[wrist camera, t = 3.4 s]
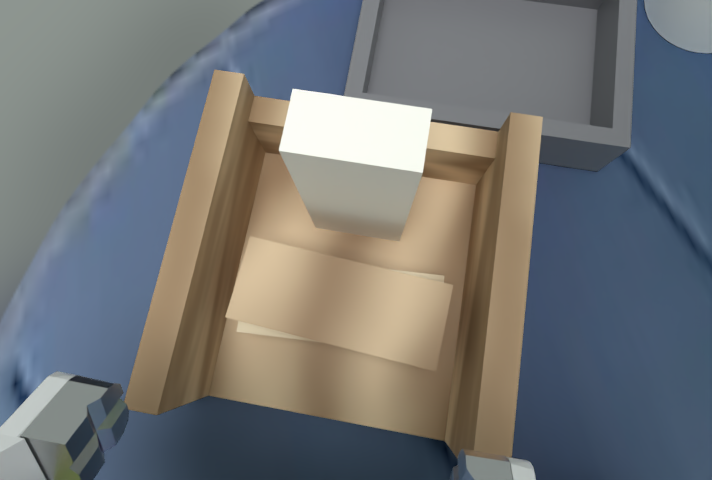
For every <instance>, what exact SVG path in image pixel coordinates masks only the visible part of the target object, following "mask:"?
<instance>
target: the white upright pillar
mask: <svg viewBox="0 0 712 480" xmlns="http://www.w3.org/2000/svg"><path fill="white" fill-rule="evenodd" d="M431 115H432V109H429V108H422V107H415V106H409V105H402V104H395V103H388V102H381V101H374V100H367V99H360V98H353V97H346V96H339V95H333V94H326V93H319V92H312V91H305V90H298V89H293V90H292V94H291V99H290V103H289V108H288V112H287V116H286V121H285V125H284V130H283V134H282V138H281V143H280V147H279V152H280V154H281V156H282V159H283V161H284V163H285V165H286V167H287V169H288V171H289V173H290V175H291V177H292V179H293V181H294V183H295V186H296V188H297V190H298V192H299V194H300V196H301V198H302V200H303V202H304V204H305V206H306V208H307V211H308V213H309V215H310V217H311V219H312V221H313V223H314V225H315V227H316V228H320V229H326V230H332V231H338V232H344V233H350V234H356V235H362V236H368V237H374V238H381V239H387V240H393V241H400V238H401V235H402V232H403V230H404V227H405V224H406V221H407V218H408V215H409V212H410V209H411V206H412V203H413V200H414V197H415V194H416V191H417V188H418V185H419V182H420V179H421V177H422V174H423V168H424V161H425V155H426V148H427V141H428V135H429V128H430V121H431Z"/></svg>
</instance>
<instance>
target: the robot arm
mask: <svg viewBox="0 0 712 480" xmlns="http://www.w3.org/2000/svg"><path fill="white" fill-rule="evenodd" d="M122 394H123V390H122V387H121V385H120V384H118V383H113V382H108V381H103V380H97V379H92V378H87V377H82V376H79V375H74V374H68V373H63V372H55V373H53V374H51V375H50V376H48V377H47V378H46V379H45V380H44V381H43V382H42V383H41V384H40V385H39V386H38V388H37V389H36V390H35V391H34V392H33V393H32V394H31V395H30V396H29V397H28V398H27V399H26V400H25V401H24V403H23V404H22V405H21V406H20V407H19V408H18V409H17V410H16V411H15V412H14V413H13V414H12V415H11V416H10V418H9V419H8V420H7V421H6V422H5V423H4V424H3V425H2V426H1V427H0V480H93V479H94V478H95V476H96V475H97V473H98V472H99V470H100V469H101V467H102V466H103V464H104V463H105V459H104V452H105V451H107V450H108V449H110V448H112V447H113V446H115V445H116V444H117V443H118V441H119V440H120V438H121V436H122V435H123V433H124V431H125V428H126V425H127V422H128V417H129V410H128V406H127V404H126V403H125V402H124V401H123V400H121V399H120V397H121V396H122ZM450 480H536V477H535V472H534V468H533V466H532V464H531V462H529V461H528V460H523V459H517V458H511V457H506V456H503V455H497V454H492V453H486V452H480V451H474V450H468V449H462V450H460V452H459V455H458V466H455V467H453V469H452V472H451V475H450Z"/></svg>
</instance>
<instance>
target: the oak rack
mask: <svg viewBox="0 0 712 480" xmlns="http://www.w3.org/2000/svg"><path fill="white" fill-rule="evenodd" d="M289 103H290V101H286V100H279V99H272V98H265V97H258V96H254V94H253V92H252V90H251V88H250V85H249V83H248V81H247V79H246V77H245V75H244V74H241V73H234V72H227V71H220V70H214V74H213V77H212V81H211V85H210V88H209V92H208V96H207V99H206V103H205V107H204V110H203V114H202V118H201V121H200V125H199V129H198V132H197V136H196V140H195V143H194V147H193V151H192V154H191V158H190V162H189V165H188V169H187V173H186V177H185V180H184V184H183V188H182V191H181V195H180V199H179V202H178V206H177V210H176V213H175V217H174V221H173V224H172V228H171V232H170V235H169V239H168V243H167V246H166V250H165V254H164V257H163V261H162V265H161V268H160V272H159V276H158V279H157V283H156V287H155V290H154V294H153V298H152V301H151V305H150V309H149V312H148V316H147V320H146V323H145V327H144V331H143V334H142V338H141V342H140V345H139V349H138V353H137V356H136V360H135V364H134V368H133V371H132V375H131V379H130V382H129V386H128V390H127V393H126V397H125V401H124V402H125V403H126V404H127V406H128V410H133V411H138V412H143V413H148V414H153V415H159V414H161V413H164V412H167V411H169V410H172V409H175V408H177V407H180V406H182V405H185V404H188V403H190V402H193V401H196V400H198V399H201V398H204V397H206V396H213V397H219V398H224V399H229V400H234V401H239V402H245V403H250V404H255V405H260V406H265V407H271V408H276V409H281V410H286V411H291V412H297V413H302V414H307V415H312V416H318V417H323V418H328V419H333V420H338V421H344V422H349V423H354V424H359V425H364V426H370V427H375V428H380V429H385V430H390V431H396V432H401V433H406V434H411V435H416V436H422V437H427V438H432V439H437V440H442V441H445V442H446V443H447V445H448V446H449V448H450V449H451V450H452V452H453V453H454V454H455V456H456V457H457V459H458V455H459V452H460V450H462V449H468V450H474V451H480V452H486V453H492V454H497V455H503V456H506V457H511V458H512V448H513V437H514V426H515V415H516V405H517V394H518V383H519V372H520V361H521V350H522V339H523V328H524V317H525V306H526V296H527V285H528V274H529V263H530V252H531V241H532V230H533V219H534V208H535V198H536V187H537V176H538V165H539V154H540V143H541V132H542V121H543V117H540V116H534V115H527V114H520V113H513V112H511V113H510V114H509V116H508V117H507V119H506V120H505V122H504V124H503V125H502V127H501V128H500V130H499V131H498V132H497V131H490V130H484V129H477V128H470V127H463V126H456V125H449V124H443V123H436V122H430V128H429V135H428V141H427V148H426V155H425V161H424V168H423V174H422V177H421V179H420V182H419V185H418V188H417V191H416V194H415V197H414V200H413V203H412V206H411V209H410V212H409V215H408V218H407V221H406V224H405V227H404V230H403V232H402V235H401V238H400V241H393V240H387V239H381V238H374V237H368V236H362V235H356V234H350V233H344V232H338V231H332V230H326V229H320V228H316V227H315V225H314V223H313V221H312V219H311V217H310V215H309V213H308V211H307V208H306V206H305V204H304V202H303V200H302V198H301V196H300V194H299V192H298V190H297V188H296V186H295V183H294V181H293V179H292V177H291V175H290V173H289V171H288V169H287V167H286V165H285V163H284V161H283V159H282V156H281V154H280V152H279V147H280V143H281V138H282V134H283V130H284V125H285V121H286V116H287V112H288V108H289ZM250 236H251V237H255V238H260V239H264V240H268V241H272V242H276V243H280V244H285V245H289V246H293V247H297V248H301V249H305V250H310V251H314V252H318V253H322V254H326V255H330V256H334V257H339V258H343V259H347V260H351V261H355V262H359V263H364V264H368V265H372V266H376V267H380V268H384V269H391V270H399V271H408V272H417V273H425V274H434V275H442V276H444V283H447V284H451V285H453V289H452V294H451V299H450V304H449V309H448V314H447V319H446V324H445V329H444V334H443V339H442V344H441V349H440V354H439V359H438V364H437V369H436V371H432V370H428V369H424V368H420V367H416V366H413V365H409V364H405V363H401V362H397V361H393V360H389V359H385V358H381V357H378V356H374V355H370V354H366V353H362V352H358V351H354V350H350V349H346V348H343V347H339V346H335V345H331V344H327V343H322V342H314V341H306V340H298V339H290V338H282V337H274V336H267V335H259V334H251V333H243V332H237V326H238V321H237V320H234V319H230V318H226V317H225V316H226V313H227V310H228V306H229V303H230V300H231V297H232V293H233V290H234V287H235V283H236V280H237V277H238V274H239V270H240V267H241V264H242V261H243V257H244V254H245V251H246V248H247V244H248V241H249V238H250Z"/></svg>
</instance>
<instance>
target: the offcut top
mask: <svg viewBox="0 0 712 480" xmlns="http://www.w3.org/2000/svg"><path fill="white" fill-rule="evenodd" d="M452 289H453V285H451V284H447V283H442V282H438V281H434V280H430V279H426V278H422V277H418V276H413V275H409V274H405V273H401V272H397V271H393V270H388V269H384V268H380V267H376V266H372V265H368V264H364V263H359V262H355V261H351V260H347V259H343V258H339V257H334V256H330V255H326V254H322V253H318V252H314V251H310V250H305V249H301V248H297V247H293V246H289V245H285V244H280V243H276V242H272V241H268V240H264V239H260V238H255V237H251V236H250V238H249V241H248V244H247V248H246V251H245V254H244V257H243V261H242V264H241V267H240V270H239V274H238V277H237V280H236V283H235V287H234V290H233V293H232V297H231V300H230V303H229V306H228V310H227V313H226V316H225V317H226V318H230V319H234V320H237V321H241V322H245V323H249V324H253V325H257V326H261V327H265V328H269V329H272V330H276V331H280V332H284V333H288V334H292V335H296V336H300V337H304V338H307V339H311V340H315V341H319V342H323V343H327V344H331V345H335V346H339V347H343V348H346V349H350V350H354V351H358V352H362V353H366V354H370V355H374V356H378V357H381V358H385V359H389V360H393V361H397V362H401V363H405V364H409V365H413V366H416V367H420V368H424V369H428V370H432V371H436V369H437V364H438V359H439V354H440V349H441V344H442V339H443V334H444V329H445V324H446V319H447V314H448V309H449V304H450V299H451V294H452Z"/></svg>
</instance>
